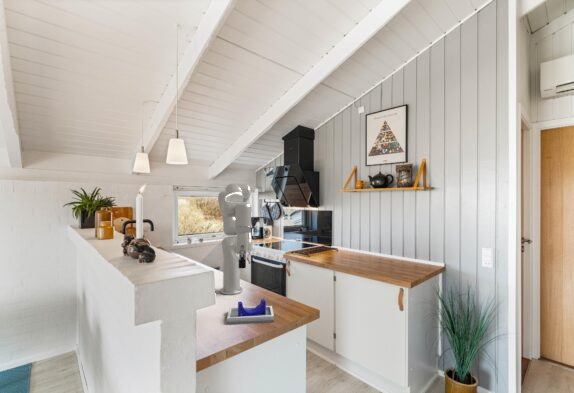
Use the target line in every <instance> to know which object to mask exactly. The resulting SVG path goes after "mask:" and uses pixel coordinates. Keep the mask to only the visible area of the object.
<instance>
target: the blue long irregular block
mask: <svg viewBox="0 0 574 393" xmlns="http://www.w3.org/2000/svg"><path fill="white" fill-rule="evenodd" d="M266 304H267V302H266V299H265V298H263V299H262V298H261V299H260V303H259V304H257V305H256V306H254V307H255V308H253V309H251V310H246V309H245V308H244V307H245V306H244V305H243V301H238V302H237V307H238V317H244V316H259V315H266V306H267V305H266Z"/></svg>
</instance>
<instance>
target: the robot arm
mask: <svg viewBox="0 0 574 393" xmlns="http://www.w3.org/2000/svg"><path fill="white" fill-rule="evenodd" d="M251 190H252V189H251V187H250V185H249V184H247V183H229V184H227V185H226V186H225V189H224V190H223V191H220V192H219V193H218V195H217V202H218V203H217V204H218V207H219V209H220V212H221V215H222V226H223V227H222V228H223V232H224V235H226V237H224V238H223V239H222V241H221V248H222V254H223V255H222V257H223V258H222V259H223V260H222V264H223V267H222V268H223V271H222V272H223V274H222V277H223V278H222V288H220V289H219V290H220V293H221V294H223V295H227V296H228V295H229V296H230V295H231V296H233V295H237V294H241V293H242V292H243V288H242V287H241V269H246V267H247V263H246V262H247V254H248V253H250V252H251V251H252V250H253V238H252V237H253V236H252V211H253V210H252V205H251V204H250V202H249V199H250V197H251V194H252V191H251ZM238 255H239V256H238Z"/></svg>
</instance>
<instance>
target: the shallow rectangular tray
mask: <svg viewBox="0 0 574 393" xmlns="http://www.w3.org/2000/svg"><path fill="white" fill-rule="evenodd" d="M243 307H244V308H245V309H246V310H251V309H253V308H255V307H256V306H243ZM227 312H228V313H227V318H226V325H239V324H240V325H241V324H242V325H243V324H262V323H275V315H274V309H273V305H266V315H259V316H244V317H238V306H237V307H234V306H233V307H229V308H228V311H227Z"/></svg>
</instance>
